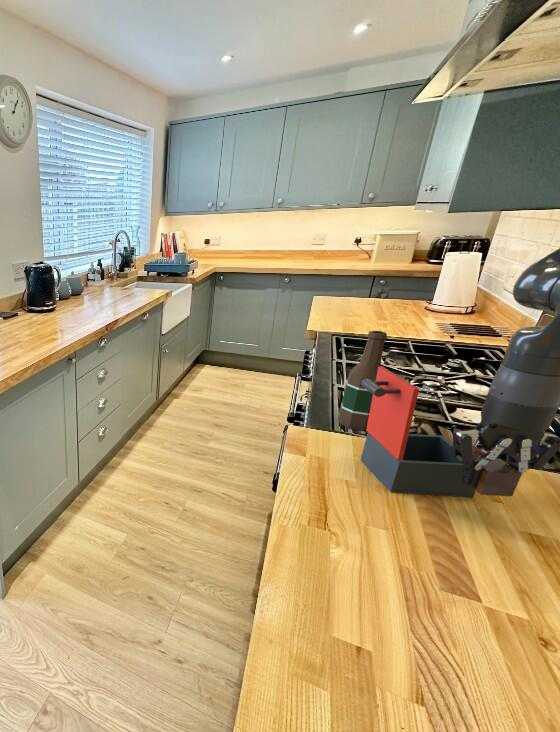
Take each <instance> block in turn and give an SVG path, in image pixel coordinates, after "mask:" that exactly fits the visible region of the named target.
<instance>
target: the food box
mask: <svg viewBox="0 0 560 732" xmlns="http://www.w3.org/2000/svg"><path fill="white" fill-rule="evenodd" d="M360 461H361V462H362V463H363V464H364V466H365V467H366V468H367V469H368V470H369V471H370V472H371V473H372V474H373V475H374V476H375V477H376V479H377V480H379V482H381V484H382V485H383V486H384V487H385V488H386V489H387V491H389V492H390V493H398V494H399V493H400V494H413V495H414V494H416V495H428V496H429V495H430V496H431V495H432V496H444V497H445V496H446V497H461V498H462V497H463V498H473V497H474V495H475V493H476V491H475V490H474V489H473V488H469V487H468V486H467V485H466V484H464V483H463V481H462V480H461V475H462V473H463V470H464V467H465V466H464V465H463V464H461V463H460V462H459V461H458V460H456V459H455V458H454V454H453V441H451V440H449V439H447V438H446V437H445V436H443V435H442V434H441V435H440V434H415V433H409V435H408V439H407V443H406V448H405V452H404V456H403V460H397V459H396V458H395V457H394V456H393V455H392V454H391V453H390V452H389V451H388V450H387V449H386V448H384V447H383V446H382V445H381V444H380V443H379V442H378V441H377V440H376V439H375V438H374V437H373V436H372V435H370V434H369V433H368V432H367V434H366V438H365V441H364V445H363V449H362V453H361V455H360Z"/></svg>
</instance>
